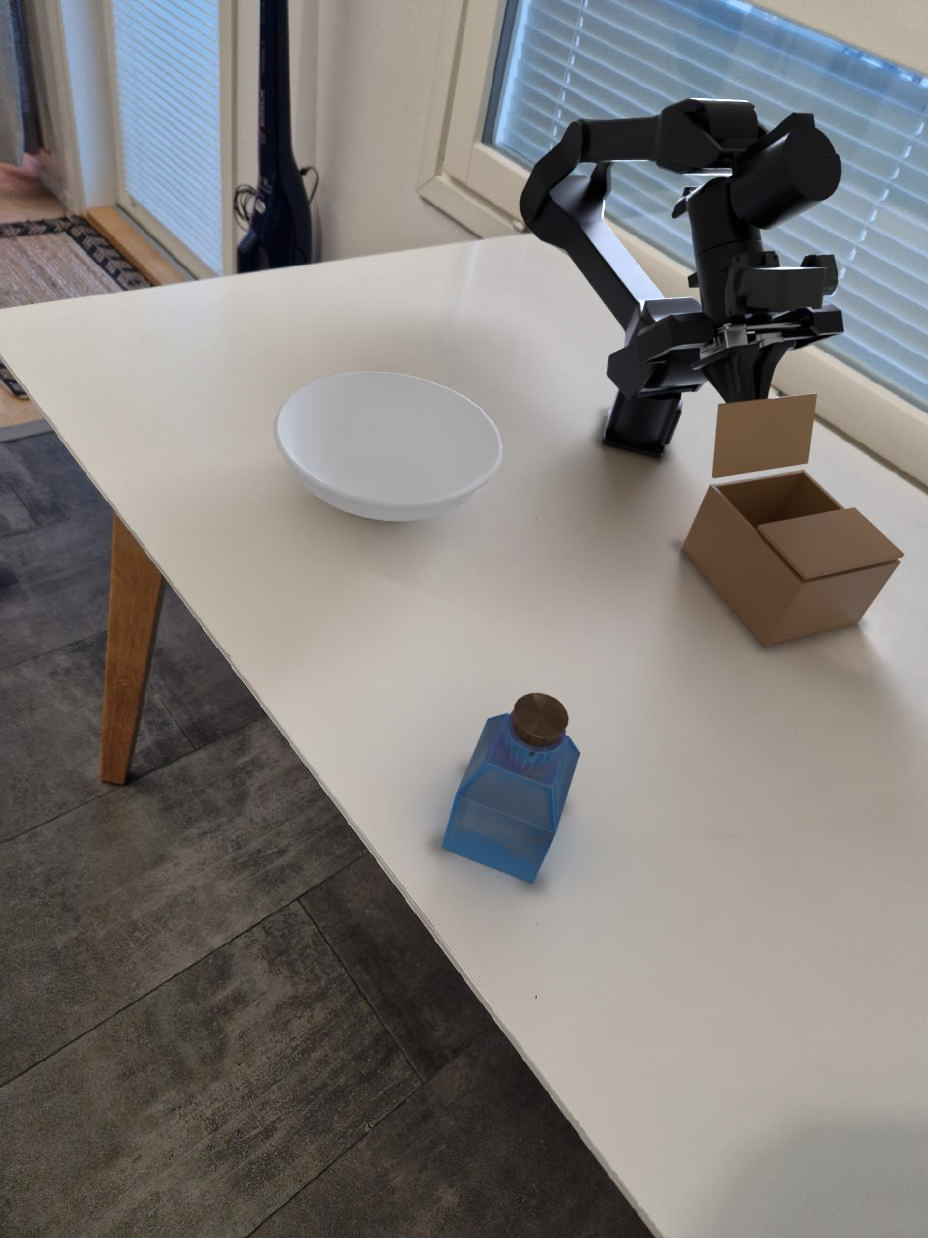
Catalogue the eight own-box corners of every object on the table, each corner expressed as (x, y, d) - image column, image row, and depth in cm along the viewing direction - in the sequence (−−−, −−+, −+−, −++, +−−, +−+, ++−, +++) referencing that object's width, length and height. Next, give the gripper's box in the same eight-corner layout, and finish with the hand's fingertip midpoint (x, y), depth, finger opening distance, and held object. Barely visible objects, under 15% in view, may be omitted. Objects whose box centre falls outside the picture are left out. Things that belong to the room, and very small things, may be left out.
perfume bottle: (557, 806, 59) (605, 695, 50) (533, 884, 54) (581, 777, 46) (472, 773, 59) (505, 658, 51) (441, 847, 55) (471, 735, 47)
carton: (681, 548, 80) (713, 476, 75) (771, 530, 84) (807, 462, 79) (764, 647, 73) (806, 576, 67) (858, 623, 77) (906, 554, 71)
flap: (714, 478, 75) (711, 477, 75) (808, 463, 79) (805, 462, 79) (720, 404, 72) (717, 403, 72) (817, 393, 76) (814, 392, 76)
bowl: (533, 505, 81) (548, 449, 77) (378, 597, 70) (385, 537, 65) (388, 405, 89) (394, 349, 85) (227, 473, 78) (224, 412, 73)
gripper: (701, 213, 64) (732, 424, 65) (883, 211, 71) (907, 402, 73) (618, 268, 74) (646, 449, 76) (784, 261, 82) (807, 427, 83)
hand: (754, 431), depth 76 cm, fingers closed
